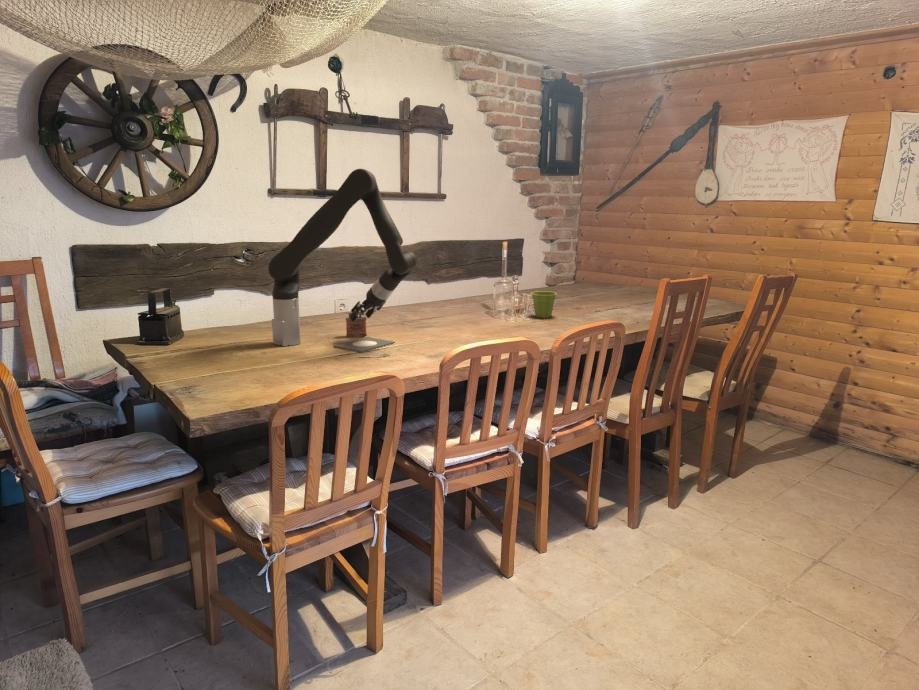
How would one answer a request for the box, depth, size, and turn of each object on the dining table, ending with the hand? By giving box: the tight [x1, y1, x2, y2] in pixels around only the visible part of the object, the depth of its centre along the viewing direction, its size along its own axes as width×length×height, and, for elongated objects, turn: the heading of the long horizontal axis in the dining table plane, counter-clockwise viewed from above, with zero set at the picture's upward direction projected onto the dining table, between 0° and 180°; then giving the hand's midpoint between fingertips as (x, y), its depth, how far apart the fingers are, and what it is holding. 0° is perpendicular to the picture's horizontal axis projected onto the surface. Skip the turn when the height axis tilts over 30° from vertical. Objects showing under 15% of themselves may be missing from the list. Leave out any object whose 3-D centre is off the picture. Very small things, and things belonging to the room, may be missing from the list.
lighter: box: [345, 311, 368, 338], centre depth 246 cm, size 8×3×10 cm, turn 105°
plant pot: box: [530, 290, 558, 319], centre depth 288 cm, size 12×12×11 cm
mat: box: [333, 336, 396, 354], centre depth 233 cm, size 18×14×1 cm
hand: (359, 317), depth 245 cm, fingers open, 8 cm apart
